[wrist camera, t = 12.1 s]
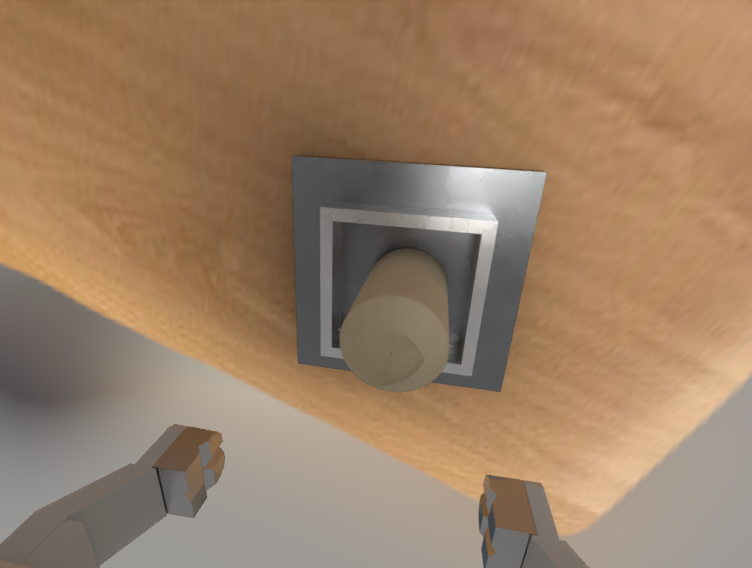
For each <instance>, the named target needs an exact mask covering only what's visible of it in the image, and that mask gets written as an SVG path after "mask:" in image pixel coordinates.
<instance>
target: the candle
mask: <svg viewBox="0 0 752 568" xmlns="http://www.w3.org/2000/svg"><path fill="white" fill-rule="evenodd" d="M340 349H341V353H342V356H343V358H344V360H345V362H346V364H347V366H348V367H349V368H350V370H351V371H352V372H353V373H354V374H355V375H356V376H357V377H358V378H359V379H361V380H362V381H364V382H365V383H367V384H369V385H371V386H372V387H375V388H378V389H381V390H384V391H390V392H408V391H413V390H416V389H420V388H422V387H424V386H426V385H428V384H429V383H431V382H432V381H433V380H435V379H436V378H437V377H438V376H439V375H440V373H441V372H442V370H443V369H444V367H445V365H446V363H447V360H448V357H449V316H448V288H447V280H446V276H445V273H444V271H443V269H442V268H441V266H440V264H439V263H438V262H437V261H436V260H435V259H434V258H433V257H432V256H430V255H429V254H427V253H425V252H423V251H420V250H416V249H410V248H403V249H397V250H394V251H392V252H389V253H388V254H386V255H384V256H383V257H382V258H380V259H379V260H378V261H377V263H376V264H375V265H374V267H373V268H372V270H371V272H370V274H369V275H368V277H367V279H366V281H365V283H364V285H363V287H362V288H361V290H360V292H359V294H358V296H357V298H356V300H355V301H354V303H353V305H352V307H351V309H350V311H349V313H348V314H347V316H346V318H345V320H344V322H343V324H342V327H341V331H340Z"/></svg>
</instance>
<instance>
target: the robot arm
mask: <svg viewBox="0 0 752 568" xmlns="http://www.w3.org/2000/svg"><path fill="white" fill-rule="evenodd" d="M222 442H223V441H222V436H221V433H219V432H216V431H210V430H205V429H200V428H195V427H188V426H182V425H177V424H174V425H172V426H170V427H169V428H168V429H167V430H166V431H165V432H164V433H163V435H161V437H160V438H159V439H158V440H157V441H156V442H155V443H154V444H153V445H152V446H151V447H150V448H149V449H148V451H147V452H146V453H145V454H144V455H143V456H142V457H141V458H140V459H139V460H138V462H136V464H129V465H127V466H125V467H123V468H121V469H119V470H117V471H115V472H113V473H111V474H109V475H107V476H105V477H103V478H101V479H99V480H97V481H95V482H93V483H91V484H89V485H87V486H85V487H83V488H81V489H79V490H77V491H75V492H73V493H71V494H69V495H67V496H65V497H63V498H61V499H59V500H57V501H55V502H53V503H51V504H49V505H47V506H45V507H43V508H41V509H39V510H37V511H35V512H34V513H33V514H32V515H31V516H30V517H29V518H28V519H27V520H26V521H25V522H24V523H22V524H21V525H20V526H19V527H18V528H17V529H16V530H15V531H14V532H13V533H12V534H11V535H10V536H9V537H8V538H6V539H5V540H4V541H3V542H2V543H1V544H0V568H100V567H99V566H100V565H101V564H103V563H104V562H105V561H107V560H108V559H109V558H111V557H112V556H113V555H114V554H116V553H117V552H119V551H120V550H121V549H123V548H124V547H125V546H127V545H128V544H129V543H131V542H132V541H133V540H135V539H136V538H137V537H138V536H140V535H141V534H142V533H144V532H145V531H147V530H148V529H149V528H151V527H152V526H153V525H154V524H155V523H157V522H159V521H160V520H161V519H163V518H164V517H165V516H166V514H172V515H179V516H185V517H191V518H194V517H195V515H196V514H197V512H198V511H199V509H200V508H201V506H202V505H203V503H204V501H205V500H206V498H207V492H206V490H207V489H209V488H210V487H212V486H214V485H215V484H216V483H217V481H218V479H219V478H220V476H221V473H222V470H223V468H224V461H225V455H224V452H223V450H222V449H221V448H220V447H219V446H220V444H221V443H222ZM483 486H484V493H483V494H482V495H481V497H480V502H479V530H480V533H481V534H482V536H483V537H484V539H483V543H482V548H481V549H482V558H483V567H484V568H589V567H588V566H587V565H586V564H585V562H584V561H583V560H582V559H581V558H580V557H579V556H578V555H577V553H576V552H575V551H574V550H573V549H572V548H571V547H570V546H569V544H568V543H567V542H566V541H563V540H559V536H558V533H557V530H556V527H555V523H554V520H553V517H552V514H551V510H550V507H549V504H548V500H547V497H546V494H545V491H544V487H543V486H542V484H541V483H537V482H531V481H524V480H522V481H521V480H519V479H512V478H505V477H498V476H492V475H486V476H485V479H484V483H483Z"/></svg>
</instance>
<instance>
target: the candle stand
mask: <svg viewBox="0 0 752 568" xmlns="http://www.w3.org/2000/svg"><path fill="white" fill-rule="evenodd" d="M546 174H547V172H544V171H536V170H521V169H505V168H489V167H474V166H458V165H442V164H427V163H411V162H395V161H380V160H364V159H348V158H333V157H317V156H301V155H296V156H292V186H293V219H294V252H295V284H296V317H297V349H298V363H299V364H306V365H313V366H320V367H327V368H334V369H341V370H348V371H351V370H350V368H349V367H348V366H347V364H346V362H345V360H344V358H343V356H342V353H341V349H340V331H341V327H342V324H343V322H344V320H345V318H346V316H347V314H348V313H349V311H350V309H351V307H352V305H353V303H354V301H355V300H356V298H357V296H358V294H359V292H360V290H361V288H362V287H363V285H364V283H365V281H366V279H367V277H368V275H369V274H370V272H371V270H372V268H373V267H374V265H375V264H376V263H377V261H378V260H379V259H380V258H382V257H383V256H384V255H386V254H388V253H389V252H392V251H394V250H397V249H403V248H410V249H416V250H420V251H423V252H425V253H427V254H429V255H430V256H432V257H433V258H434V259H435V260H436V261H437V262H438V263H439V264H440V266H441V268H442V269H443V271H444V273H445V276H446V280H447V288H448V316H449V357H448V360H447V363H446V365H445V367H444V369H443V370H442V372H441V373H440V375H439V376H438V377H437V378H436V379H435V380H433V381H432V382H433V383H441V384H448V385H455V386H462V387H469V388H476V389H483V390H490V391H497V392H501V387H502V382H503V377H504V373H505V368H506V363H507V359H508V354H509V349H510V344H511V340H512V335H513V330H514V325H515V321H516V316H517V311H518V306H519V302H520V297H521V292H522V287H523V283H524V278H525V273H526V268H527V264H528V259H529V254H530V250H531V245H532V240H533V235H534V231H535V226H536V221H537V216H538V212H539V207H540V202H541V197H542V193H543V188H544V183H545V178H546Z"/></svg>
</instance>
